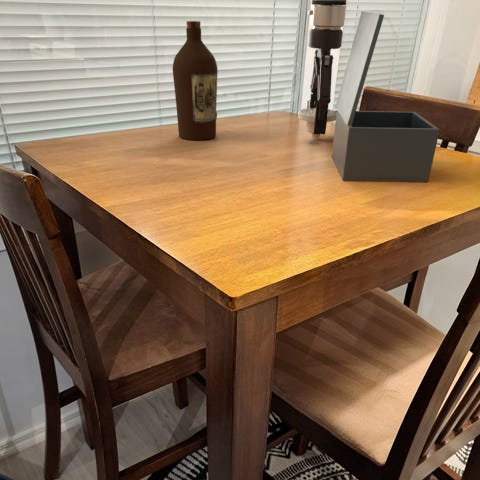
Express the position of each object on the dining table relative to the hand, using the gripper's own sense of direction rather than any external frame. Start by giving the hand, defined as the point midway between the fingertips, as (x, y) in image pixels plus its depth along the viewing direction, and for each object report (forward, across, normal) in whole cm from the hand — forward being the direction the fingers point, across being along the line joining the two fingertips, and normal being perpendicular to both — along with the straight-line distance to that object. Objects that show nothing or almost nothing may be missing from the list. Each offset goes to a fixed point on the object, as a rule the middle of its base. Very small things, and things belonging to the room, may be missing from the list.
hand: (316, 127), depth 123 cm
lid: (-16, +25, +4) cm, 30 cm away
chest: (+3, +25, +10) cm, 27 cm away
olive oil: (+3, -1, -30) cm, 30 cm away
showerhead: (+3, 0, 0) cm, 3 cm away
